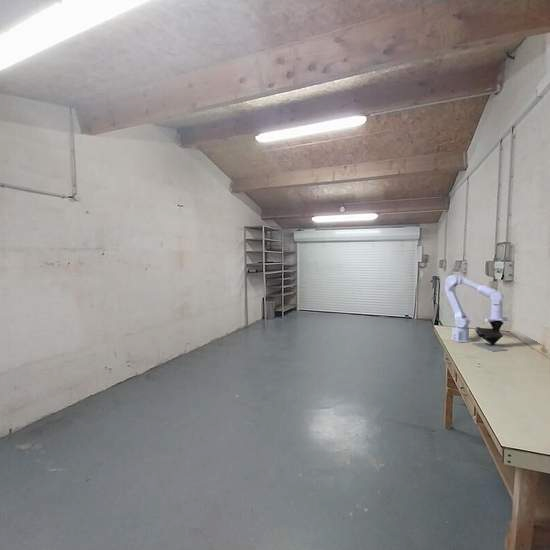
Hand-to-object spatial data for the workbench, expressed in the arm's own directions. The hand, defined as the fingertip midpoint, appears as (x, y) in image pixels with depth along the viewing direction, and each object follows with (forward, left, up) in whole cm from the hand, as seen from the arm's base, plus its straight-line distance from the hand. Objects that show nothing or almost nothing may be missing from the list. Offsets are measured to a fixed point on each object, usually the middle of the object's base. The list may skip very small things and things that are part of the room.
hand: (496, 332), depth 178 cm
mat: (-5, 0, -8) cm, 10 cm away
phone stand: (+1, +1, -3) cm, 3 cm away
